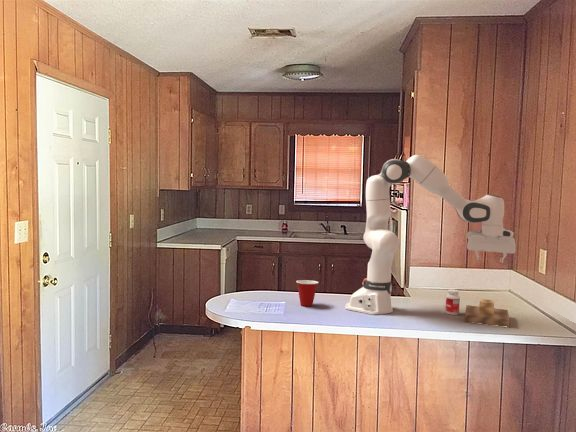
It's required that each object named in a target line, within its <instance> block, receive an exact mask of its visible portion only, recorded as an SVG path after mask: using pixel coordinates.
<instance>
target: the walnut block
mask: <svg viewBox="0 0 576 432" xmlns="http://www.w3.org/2000/svg"><path fill="white" fill-rule="evenodd" d="M468 322H474V323H473V324H475V323H482V324H481V325H483V324H488V325H487V326H491V325H498V326H507V327H509V328H510V315H509V311H508V309H505V308H504V309H503V308H496V307H494V314H486V313H479V305H478V306H477V305H470V304H469V305H468V304H466V307H465V312H464V323H468ZM498 326H497V327H498Z"/></svg>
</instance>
